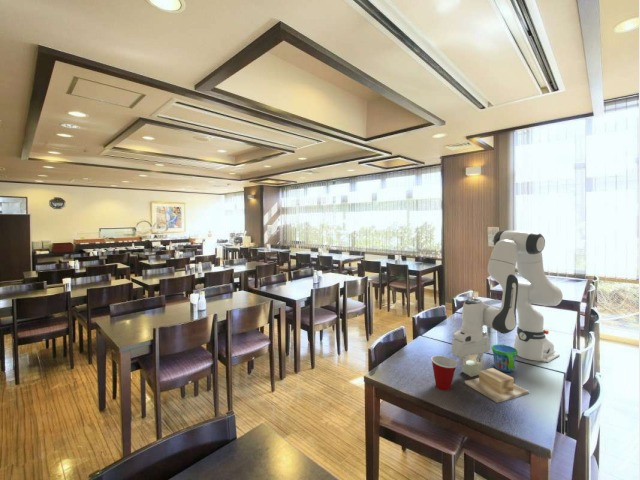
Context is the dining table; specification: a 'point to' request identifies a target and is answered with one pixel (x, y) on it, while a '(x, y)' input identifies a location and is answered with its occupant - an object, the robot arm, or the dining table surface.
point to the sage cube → (471, 368)
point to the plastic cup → (443, 371)
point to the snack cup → (504, 357)
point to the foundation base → (494, 394)
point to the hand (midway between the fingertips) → (470, 363)
